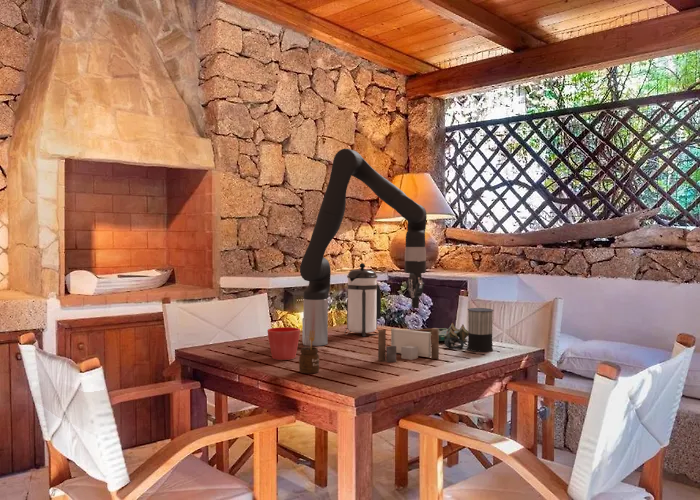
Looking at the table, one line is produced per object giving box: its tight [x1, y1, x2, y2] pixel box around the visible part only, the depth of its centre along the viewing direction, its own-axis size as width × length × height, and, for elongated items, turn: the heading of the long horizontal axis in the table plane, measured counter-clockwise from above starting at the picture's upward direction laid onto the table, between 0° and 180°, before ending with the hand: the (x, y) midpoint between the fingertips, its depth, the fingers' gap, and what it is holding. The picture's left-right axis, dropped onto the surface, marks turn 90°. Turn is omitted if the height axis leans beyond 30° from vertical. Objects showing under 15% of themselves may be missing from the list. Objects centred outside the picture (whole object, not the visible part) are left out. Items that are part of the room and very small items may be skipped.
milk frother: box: [443, 307, 494, 353], centre depth 221 cm, size 14×16×15 cm
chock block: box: [400, 345, 419, 361], centre depth 204 cm, size 4×4×4 cm
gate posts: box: [377, 327, 440, 363], centre depth 200 cm, size 21×4×10 cm, turn 103°
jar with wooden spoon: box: [298, 330, 320, 375], centre depth 182 cm, size 6×6×12 cm
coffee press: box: [343, 262, 382, 338], centre depth 256 cm, size 17×16×30 cm
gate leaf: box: [390, 328, 431, 358], centre depth 209 cm, size 15×2×8 cm, turn 53°
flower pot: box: [267, 326, 301, 361], centre depth 203 cm, size 11×11×10 cm
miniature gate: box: [411, 322, 468, 343], centre depth 244 cm, size 27×6×30 cm
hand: (415, 308), depth 217 cm, fingers closed
